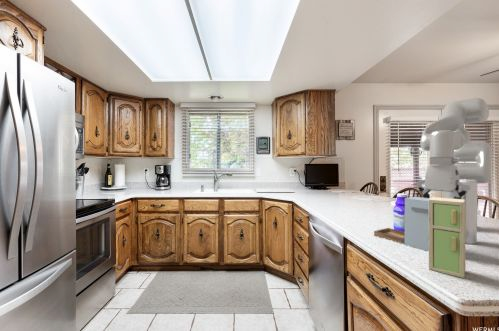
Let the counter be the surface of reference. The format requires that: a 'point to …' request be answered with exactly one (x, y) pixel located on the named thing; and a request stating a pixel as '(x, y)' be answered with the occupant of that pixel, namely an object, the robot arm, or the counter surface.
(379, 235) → the tray
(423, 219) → the unit
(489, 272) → the counter surface
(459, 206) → the toy refrigerator
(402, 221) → the bottle
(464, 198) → the grey post
